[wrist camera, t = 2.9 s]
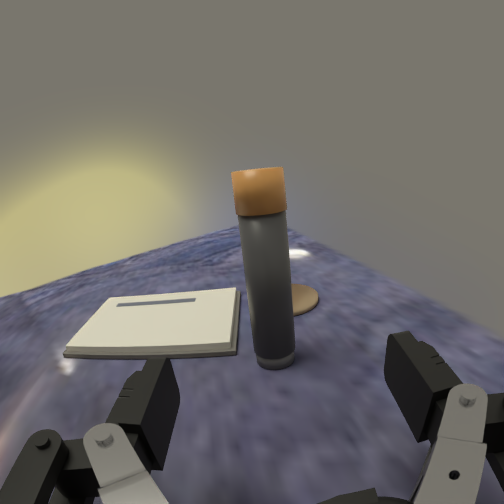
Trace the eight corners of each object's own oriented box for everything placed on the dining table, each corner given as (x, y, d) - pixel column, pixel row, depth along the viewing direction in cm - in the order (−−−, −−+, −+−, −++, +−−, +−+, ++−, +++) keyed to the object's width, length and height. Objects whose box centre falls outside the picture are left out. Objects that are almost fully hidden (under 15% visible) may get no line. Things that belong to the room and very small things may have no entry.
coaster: (249, 320, 30) (248, 316, 30) (249, 291, 36) (249, 287, 36) (324, 312, 29) (324, 307, 29) (311, 284, 36) (311, 280, 36)
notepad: (64, 357, 25) (60, 347, 25) (109, 304, 36) (107, 296, 36) (236, 354, 24) (234, 343, 24) (240, 294, 36) (239, 285, 36)
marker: (254, 373, 22) (229, 173, 18) (254, 349, 25) (232, 171, 21) (299, 368, 22) (285, 167, 18) (294, 345, 25) (280, 166, 21)
